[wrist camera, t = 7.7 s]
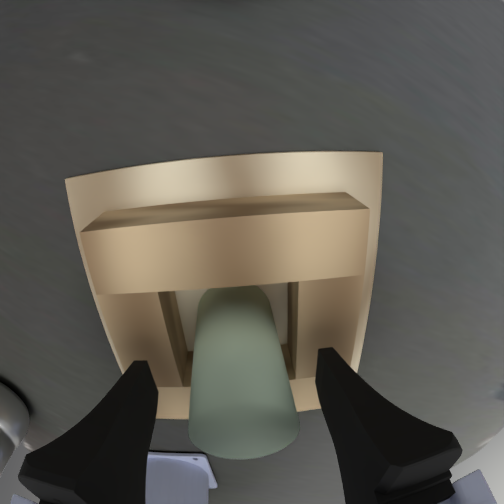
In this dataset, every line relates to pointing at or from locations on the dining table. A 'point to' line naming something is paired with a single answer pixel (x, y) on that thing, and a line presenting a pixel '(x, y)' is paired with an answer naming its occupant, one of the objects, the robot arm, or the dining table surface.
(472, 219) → the dining table surface
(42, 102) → the dining table surface
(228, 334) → the dowel
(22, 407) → the plastic bottle
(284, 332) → the socket block
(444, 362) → the dining table surface
